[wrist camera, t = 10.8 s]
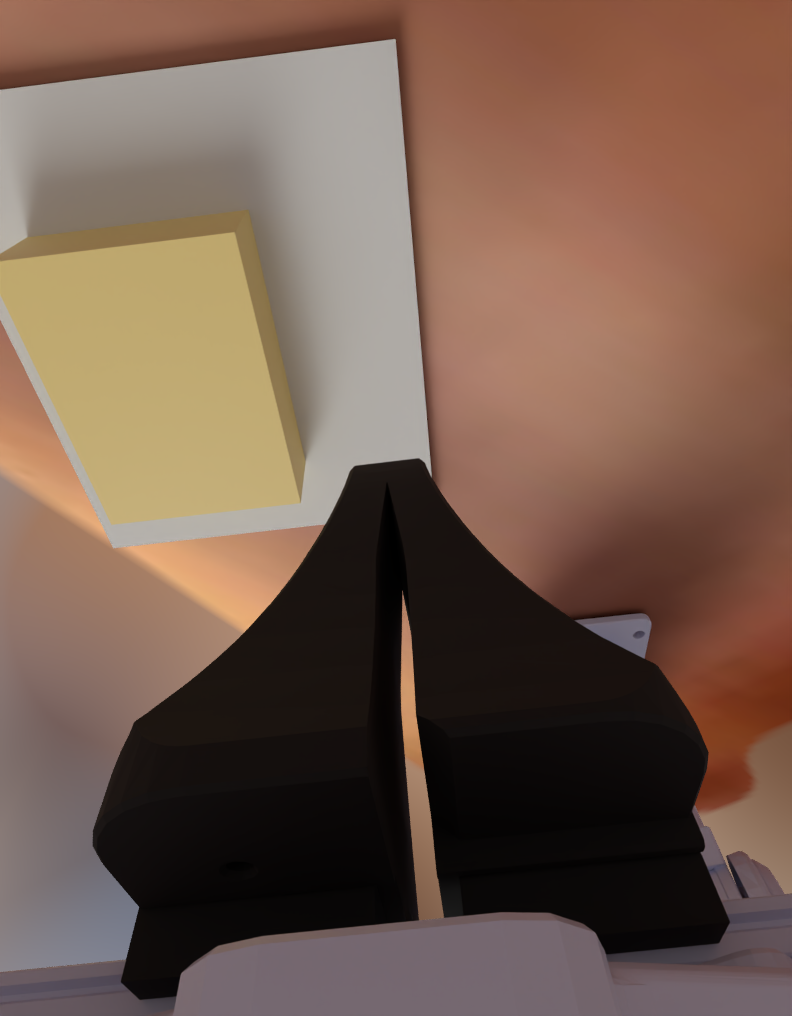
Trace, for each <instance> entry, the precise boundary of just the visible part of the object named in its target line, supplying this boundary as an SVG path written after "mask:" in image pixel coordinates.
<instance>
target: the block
mask: <svg viewBox="0 0 792 1016" xmlns="http://www.w3.org/2000/svg"><path fill="white" fill-rule="evenodd" d="M0 296H1V298H2V300H3V302H4V304H5V306H6V308H7V310H8V312H9V314H10V316H11V318H12V320H13V322H14V324H15V327H16V329H17V331H18V333H19V335H20V337H21V339H22V341H23V343H24V345H25V347H26V349H27V351H28V353H29V355H30V358H31V360H32V362H33V364H34V366H35V368H36V370H37V372H38V374H39V376H40V378H41V380H42V382H43V384H44V386H45V389H46V391H47V393H48V395H49V397H50V399H51V401H52V403H53V405H54V407H55V409H56V411H57V413H58V415H59V417H60V420H61V422H62V424H63V426H64V428H65V430H66V432H67V434H68V436H69V438H70V440H71V442H72V444H73V446H74V448H75V451H76V453H77V455H78V457H79V459H80V461H81V463H82V465H83V467H84V469H85V471H86V473H87V475H88V477H89V479H90V482H91V484H92V486H93V488H94V490H95V492H96V494H97V496H98V498H99V500H100V502H101V504H102V506H103V508H104V510H105V513H106V515H107V517H108V519H109V521H110V523H111V525H115V524H124V523H132V522H141V521H150V520H159V519H167V518H176V517H185V516H193V515H202V514H211V513H220V512H228V511H237V510H246V509H254V508H263V507H272V506H281V505H289V504H298V503H301V497H302V489H303V480H304V472H305V463H306V461H305V456H304V452H303V448H302V443H301V439H300V434H299V430H298V426H297V421H296V417H295V412H294V408H293V403H292V399H291V395H290V390H289V386H288V381H287V377H286V373H285V368H284V364H283V359H282V355H281V351H280V346H279V342H278V337H277V333H276V329H275V324H274V320H273V315H272V311H271V307H270V302H269V298H268V293H267V289H266V284H265V280H264V276H263V271H262V267H261V262H260V258H259V254H258V249H257V245H256V240H255V236H254V232H253V227H252V223H251V218H250V214H249V210H242V211H234V212H226V213H218V214H210V215H202V216H194V217H186V218H178V219H170V220H162V221H154V222H146V223H138V224H130V225H122V226H114V227H106V228H98V229H90V230H82V231H74V232H66V233H58V234H50V235H42V236H34V237H27V238H25V239H24V240H22V241H20V242H19V243H17V244H15V245H14V246H12V247H10V248H9V249H7V250H6V251H4V252H2V253H1V254H0Z"/></svg>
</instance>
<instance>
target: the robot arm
mask: <svg viewBox="0 0 792 1016" xmlns="http://www.w3.org/2000/svg"><path fill="white" fill-rule="evenodd" d="M402 590H403V595H404V600H405V605H406V610H407V615H408V620H409V625H410V630H411V636H412V651H413V667H414V684H415V701H416V717H417V724H418V730H419V737H420V744H421V751H422V757H423V764H424V771H425V778H426V784H427V791H428V798H429V805H430V811H431V819H432V828H433V839H434V850H435V860H436V870H437V877H438V880H439V887H440V893H441V900H442V906H443V913H444V918H439V919H429V920H419V917H418V906H417V895H416V884H415V872H414V861H413V850H412V838H411V827H410V816H409V803H408V791H407V778H406V767H405V754H404V741H403V729H402V716H401V641H402ZM650 630H651V621H650V619H649V617H648V616H647V615H646V614H643V613H637V614H628V615H619V616H609V617H600V618H591V619H582V620H573V619H571V618H570V617H568V616H567V615H566V614H564V613H563V612H561V611H560V610H559V609H557V608H556V607H554V606H553V605H552V604H550V603H549V602H547V601H546V600H545V599H543V598H542V597H540V596H539V595H537V594H536V593H535V592H534V591H532V590H531V589H530V588H529V587H528V586H526V585H525V584H524V583H523V582H522V581H520V580H519V579H518V578H517V577H515V576H514V575H513V574H512V573H511V572H510V571H509V570H508V569H507V568H506V567H504V566H503V565H502V564H501V563H500V562H499V561H498V560H497V559H496V558H495V557H494V556H493V555H492V554H491V553H490V552H489V551H488V550H487V549H486V548H485V547H484V546H483V545H482V544H481V543H480V541H479V540H478V539H477V538H476V537H475V536H474V535H473V534H472V533H471V531H470V530H469V529H468V528H467V527H466V525H465V524H464V523H463V522H462V521H461V519H460V518H459V517H458V515H457V514H456V513H455V511H454V510H453V509H452V508H451V506H450V505H449V504H448V502H447V501H446V499H445V498H444V496H443V495H442V493H441V492H440V490H439V489H438V487H437V486H436V484H435V482H434V481H433V479H432V477H431V475H430V473H429V471H428V469H427V467H426V464H425V462H423V461H422V460H421V459H420V458H415V459H407V460H399V461H390V462H382V463H373V464H365V465H356V466H354V467H353V468H352V469H351V470H350V472H349V475H348V478H347V480H346V483H345V485H344V488H343V490H342V492H341V495H340V497H339V499H338V501H337V503H336V505H335V507H334V509H333V511H332V513H331V515H330V517H329V518H328V520H327V522H326V524H325V526H324V528H323V530H322V531H321V533H320V535H319V537H318V538H317V540H316V541H315V543H314V544H313V546H312V548H311V549H310V551H309V552H308V554H307V555H306V557H305V559H304V560H303V562H302V563H301V565H300V566H299V568H298V569H297V570H296V572H295V573H294V575H293V576H292V577H291V579H290V580H289V581H288V583H287V584H286V585H285V587H284V588H283V589H282V590H281V592H280V593H279V594H278V595H277V597H276V598H275V599H274V600H273V601H272V603H271V604H270V605H269V606H268V607H267V608H266V609H265V611H264V612H263V613H262V614H261V615H260V616H259V617H258V618H257V619H256V621H255V622H254V623H253V624H252V625H251V626H250V627H249V628H248V629H247V630H246V631H245V632H244V633H243V634H242V635H241V636H240V637H239V639H237V640H236V641H235V642H234V643H233V644H232V645H231V646H230V647H229V648H228V649H227V650H226V651H224V652H223V653H222V654H221V655H220V656H219V657H218V658H217V659H216V660H214V661H213V662H212V663H211V664H210V665H209V666H207V667H206V668H205V669H204V670H203V671H202V672H200V673H199V674H198V675H197V676H196V677H194V678H193V679H192V680H191V681H189V682H188V683H187V684H185V685H184V686H183V687H182V688H180V689H179V690H177V691H176V692H175V693H174V694H172V695H171V696H169V697H168V698H167V699H165V700H164V701H163V702H161V703H160V704H159V705H157V706H156V707H155V708H153V709H152V710H151V711H149V712H148V713H147V714H145V715H144V716H142V717H141V718H139V719H138V720H136V721H135V722H134V724H133V727H132V729H131V731H130V734H129V736H128V738H127V740H126V742H125V744H124V746H123V748H122V750H121V752H120V755H119V757H118V760H117V762H116V765H115V767H114V770H113V773H112V775H111V778H110V781H109V784H108V787H107V790H106V793H105V796H104V799H103V802H102V805H101V808H100V811H99V814H98V817H97V820H96V823H95V826H94V829H93V847H94V849H95V851H96V853H97V855H98V856H99V858H100V860H101V862H102V863H103V865H104V866H105V867H106V868H107V870H108V871H109V872H110V873H111V874H112V875H113V877H114V878H115V879H116V880H117V881H118V882H119V884H120V885H121V886H122V887H123V888H124V890H125V891H126V892H127V893H128V894H129V895H130V897H131V898H132V899H133V900H134V901H135V903H136V904H137V905H138V906H139V910H138V914H137V918H136V922H135V926H134V930H133V934H132V938H131V942H130V946H129V950H128V954H127V958H126V960H118V961H107V962H98V963H87V964H77V965H67V966H58V967H47V968H37V969H27V970H17V971H8V972H0V1016H792V894H784V892H783V890H782V889H781V887H780V886H779V884H778V882H777V880H776V879H775V877H774V876H773V874H772V873H771V871H770V870H769V869H768V868H767V867H766V866H764V865H762V864H760V863H759V862H757V861H755V860H753V859H750V858H749V856H748V855H747V854H746V853H744V852H742V851H738V852H735V853H733V854H730V855H727V856H726V857H727V860H728V863H729V867H730V869H731V872H732V875H733V877H734V880H735V882H734V880H733V878H732V876H731V874H730V872H729V870H728V868H727V865H726V863H725V860H724V859H723V856H722V854H721V852H720V849H719V847H718V845H717V843H716V840H715V838H714V836H713V834H712V831H711V829H710V828H709V827H707V826H704V825H703V823H702V821H701V818H700V816H699V814H698V811H697V809H696V807H695V802H696V799H697V796H698V793H699V790H700V787H701V784H702V781H703V778H704V776H705V773H706V770H707V763H708V753H709V752H708V750H707V748H706V745H705V743H704V741H703V738H702V736H701V734H700V731H699V729H698V727H697V725H696V723H695V721H694V719H693V718H692V716H691V714H690V712H689V711H688V709H687V708H686V706H685V705H684V703H683V702H682V700H681V699H680V697H679V696H678V694H677V693H676V691H675V690H674V688H673V687H672V685H671V684H670V683H669V681H668V680H667V678H666V677H665V675H664V674H663V673H662V671H661V670H660V669H659V667H658V666H657V665H656V664H654V663H652V662H650V661H648V660H646V659H645V654H646V649H647V644H648V639H649V635H650ZM735 883H736V884H735ZM736 885H737V886H736Z"/></svg>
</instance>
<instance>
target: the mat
mask: <svg viewBox="0 0 792 1016" xmlns="http://www.w3.org/2000/svg"><path fill="white" fill-rule="evenodd" d="M242 210H249V214H250V218H251V223H252V227H253V232H254V236H255V240H256V245H257V249H258V254H259V258H260V262H261V267H262V271H263V276H264V280H265V284H266V289H267V293H268V298H269V302H270V307H271V311H272V315H273V320H274V324H275V329H276V333H277V337H278V342H279V346H280V351H281V355H282V359H283V364H284V368H285V373H286V377H287V381H288V386H289V390H290V395H291V399H292V403H293V408H294V412H295V417H296V421H297V426H298V430H299V434H300V439H301V443H302V448H303V452H304V456H305V461H306V463H305V472H304V480H303V489H302V497H301V503H298V504H289V505H281V506H272V507H263V508H254V509H246V510H237V511H228V512H220V513H211V514H202V515H193V516H185V517H176V518H167V519H159V520H150V521H141V522H132V523H124V524H115V525H111V523H110V521H109V519H108V517H107V515H106V513H105V510H104V508H103V506H102V504H101V502H100V500H99V498H98V496H97V494H96V492H95V490H94V488H93V486H92V484H91V482H90V479H89V477H88V475H87V473H86V471H85V469H84V467H83V465H82V463H81V461H80V459H79V457H78V455H77V453H76V451H75V448H74V446H73V444H72V442H71V440H70V438H69V436H68V434H67V432H66V430H65V428H64V426H63V424H62V422H61V420H60V417H59V415H58V413H57V411H56V409H55V407H54V405H53V403H52V401H51V399H50V397H49V395H48V393H47V391H46V389H45V386H44V384H43V382H42V380H41V378H40V376H39V374H38V372H37V370H36V368H35V366H34V364H33V362H32V360H31V358H30V355H29V353H28V351H27V349H26V347H25V345H24V343H23V341H22V339H21V337H20V335H19V333H18V331H17V329H16V327H15V324H14V322H13V320H12V318H11V316H10V314H9V312H8V310H7V308H6V306H5V304H4V302H3V300H2V298H1V296H0V320H1V322H2V324H3V326H4V328H5V330H6V332H7V334H8V336H9V338H10V340H11V342H12V344H13V346H14V348H15V350H16V352H17V354H18V356H19V358H20V360H21V362H22V364H23V366H24V368H25V370H26V373H27V375H28V377H29V379H30V381H31V383H32V385H33V387H34V389H35V391H36V393H37V395H38V397H39V399H40V401H41V403H42V405H43V407H44V409H45V411H46V413H47V415H48V417H49V419H50V421H51V423H52V425H53V427H54V429H55V431H56V433H57V435H58V437H59V439H60V441H61V443H62V445H63V447H64V449H65V451H66V453H67V455H68V457H69V459H70V462H71V464H72V466H73V468H74V470H75V472H76V474H77V476H78V478H79V480H80V482H81V484H82V486H83V488H84V490H85V492H86V494H87V496H88V498H89V500H90V502H91V504H92V506H93V508H94V510H95V512H96V514H97V516H98V518H99V520H100V522H101V524H102V526H103V528H104V530H105V532H106V534H107V536H108V538H109V540H110V542H111V544H112V546H113V548H119V547H128V546H137V545H146V544H154V543H163V542H172V541H181V540H190V539H199V538H208V537H216V536H225V535H234V534H243V533H252V532H261V531H270V530H278V529H287V528H296V527H305V526H314V525H323V524H326V522H327V520H328V518H329V517H330V515H331V513H332V511H333V509H334V507H335V505H336V503H337V501H338V499H339V497H340V495H341V492H342V490H343V488H344V485H345V483H346V480H347V478H348V475H349V472H350V470H351V469H352V468H353V467H354V466H356V465H365V464H373V463H382V462H390V461H399V460H407V459H415V458H420V459H421V460H422V461H423V462H425V464H426V467H427V469H428V471H429V473H430V475H431V477H432V474H431V462H430V450H429V438H428V426H427V414H426V401H425V389H424V377H423V365H422V353H421V341H420V329H419V317H418V305H417V293H416V281H415V269H414V257H413V245H412V233H411V220H410V208H409V196H408V184H407V172H406V160H405V148H404V136H403V124H402V112H401V100H400V88H399V76H398V64H397V51H396V39H391V40H383V41H375V42H367V43H360V44H352V45H344V46H336V47H328V48H321V49H313V50H305V51H297V52H290V53H282V54H274V55H266V56H259V57H251V58H243V59H235V60H228V61H220V62H212V63H204V64H197V65H189V66H181V67H173V68H166V69H158V70H150V71H142V72H134V73H127V74H119V75H111V76H103V77H96V78H88V79H80V80H72V81H65V82H57V83H49V84H41V85H34V86H26V87H18V88H10V89H3V90H0V254H1V253H2V252H4V251H6V250H7V249H9V248H10V247H12V246H14V245H15V244H17V243H19V242H20V241H22V240H24V239H25V238H27V237H34V236H42V235H50V234H58V233H66V232H74V231H82V230H90V229H98V228H106V227H114V226H122V225H130V224H138V223H146V222H154V221H162V220H170V219H178V218H186V217H194V216H202V215H210V214H218V213H226V212H234V211H242Z"/></svg>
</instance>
